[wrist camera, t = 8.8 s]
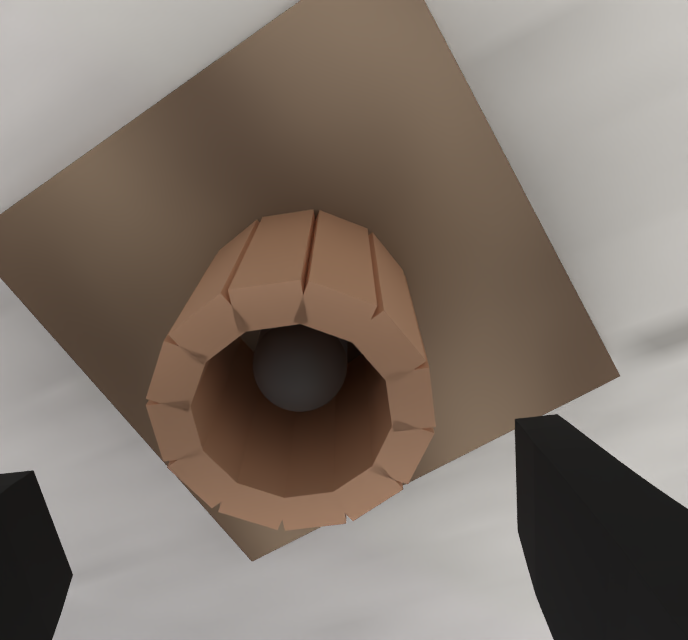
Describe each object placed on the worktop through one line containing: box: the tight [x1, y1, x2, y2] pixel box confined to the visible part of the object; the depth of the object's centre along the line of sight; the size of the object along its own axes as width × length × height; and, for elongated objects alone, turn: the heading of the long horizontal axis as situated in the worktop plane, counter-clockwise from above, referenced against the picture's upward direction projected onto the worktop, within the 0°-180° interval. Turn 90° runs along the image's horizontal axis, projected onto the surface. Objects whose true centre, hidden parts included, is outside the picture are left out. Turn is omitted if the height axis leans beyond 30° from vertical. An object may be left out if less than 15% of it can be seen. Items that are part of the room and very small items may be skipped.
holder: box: [0, 0, 620, 561], centre depth 15 cm, size 12×12×5 cm
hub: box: [146, 210, 436, 531], centre depth 14 cm, size 5×5×5 cm
